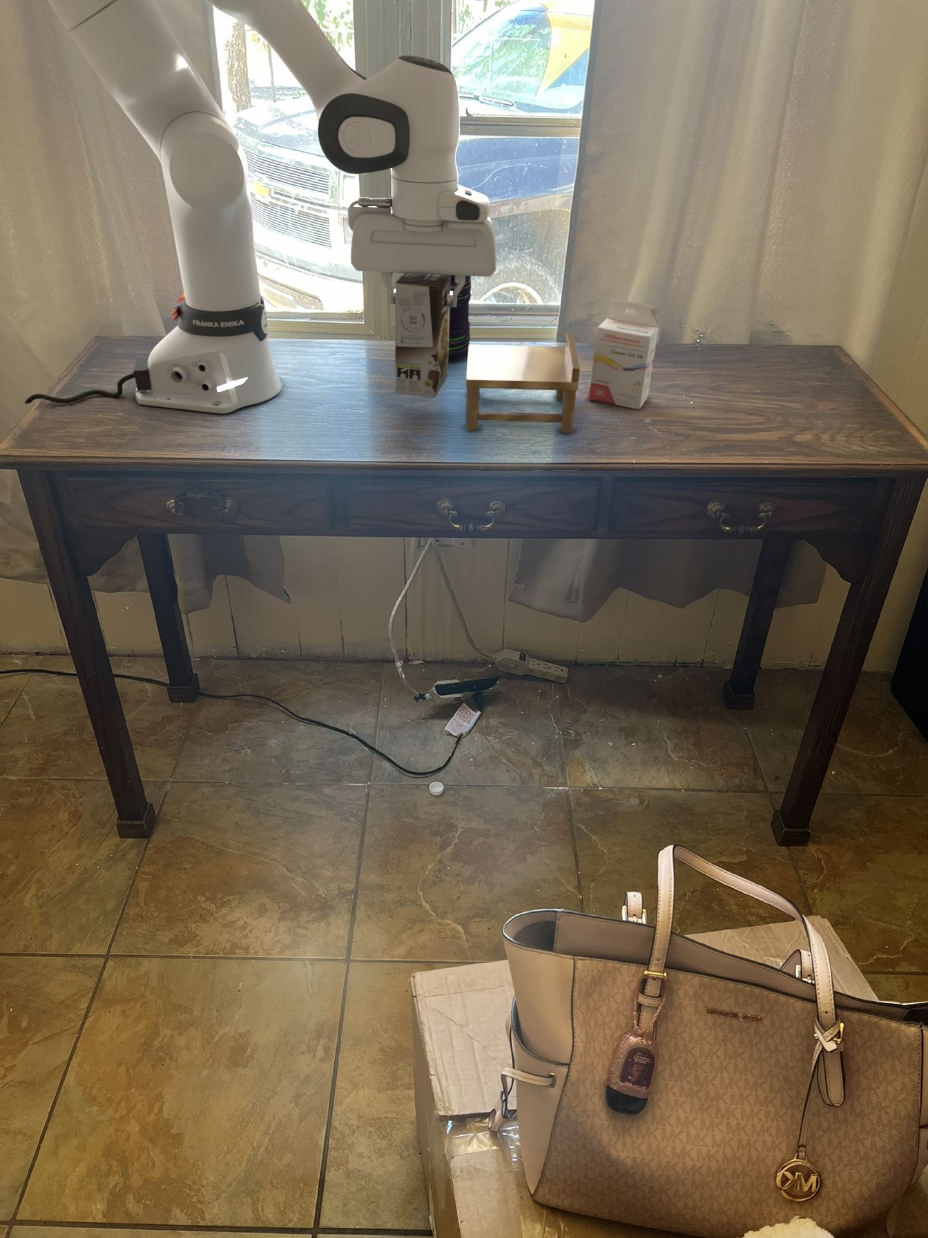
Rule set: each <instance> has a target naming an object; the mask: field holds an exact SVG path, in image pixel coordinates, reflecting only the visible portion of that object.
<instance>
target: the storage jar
mask: <svg viewBox="0 0 928 1238" xmlns="http://www.w3.org/2000/svg"><path fill="white" fill-rule="evenodd" d="M471 279H472V276H465V284H464V286H463V287H462V289H461V291H460V292H459V294H458V295H457V306H456V307H450V315H449V351H448V365H450V364H451V365H452V364H457V363H461V362H463V361H465V360H467V359H468V346H469V345H470V342H471V332H470V330H471V322H470V320H469V319H470V318H469V315H470V301H471V297H472V294H471V290H472V280H471ZM456 285H457V283H455V275H451V285H450V291H453V290H454V288H455V286H456Z"/></svg>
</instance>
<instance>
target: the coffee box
mask: <svg viewBox="0 0 928 1238" xmlns="http://www.w3.org/2000/svg"><path fill="white" fill-rule="evenodd" d="M450 285H451V275H437V274H415V273H402V275H401V276H400V277H399V278H398V279H397V281H395V289H396V293H395V304H394V305H395V306H394V308H395V311H394V313H395V314H394V315H395V316H394V318H395V319H394V321H395V322H394V323H395V324H394V326H395V327H394V338H395V339H394V346H395V347H394V348H395V349H394V351H395V354H394V364H395V365H394V386H395V387H394V393H395V394H400V395H408V396H415V397H422V398H429V399H435V398H436V397H437V395H438V394H439V392H440V390H441V388H442V387H443V385H444V383H445V382H446V380H447V378H448V375H449V374H448V373H449V364H448V351H449V315H450V307H446V302H447V300H446V298H447V291H450Z"/></svg>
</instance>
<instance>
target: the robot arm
mask: <svg viewBox="0 0 928 1238" xmlns="http://www.w3.org/2000/svg"><path fill="white" fill-rule="evenodd" d="M47 1H48V3H49V4H50V6H51V8H52V10H53V11H54V12H55V14H56V16H57V18H58V19H59V20H60V22H61V24H62V25H63V27H64V28H65V29H66V31H67V33H68V34H69V35H70V37H71V38H72V40H73V42H74V43H75V44H76V46H77V48H78V49H79V50H80V52H81V53H82V55H83V56H84V58H85V59H86V60H87V62H88V63H89V65H90V66H91V68H92V70H93V71H94V72H95V73H96V75H97V76H98V78H99V80H101V83H102V84H103V86H104V87H105V88H106V90H107V91H108V92H109V94H110V96H111V97H112V98H113V100H115V102H116V103H117V104H118V106H119V107H120V108H121V109H122V111H123V112H124V113H125V114H126V116H127V117H128V118H129V120H130V121H131V122H132V124H133V125H134V127H135V128H136V130H138V132H139V133H140V135H141V136H142V137H143V139H144V140H145V142H146V143H147V144H148V145H149V147H150V149H151V150H152V151H153V153H154V154H155V155H156V157H157V158H158V161H159V162H160V164H161V171H162V176H163V181H164V187H165V192H166V197H167V203H168V209H169V214H170V220H171V226H172V232H173V237H174V243H175V249H176V255H177V261H178V266H179V272H180V277H181V283H182V288H183V293H182V295H181V296H179V298H178V299H177V303H176V305H174V307H173V309H174V310H173V311H172V312H171V315H172V321H174V322H175V321H176V323H177V325H176V326H175V327H174V328H173V329H172V330H171V331H170V332H168V333H167V334H166V336H165V337H163V338H162V339H161V340H159V342H158V343H157V344H156V345H155V346H154V347H153V348H152V350H151V351H150V354H149V356H148V357H147V358H138V359H135V361H134V368H133V372H132V373H130V374H127V375H125V376H122V377H121V378H120V379H119V380H118V382H117V384H116V389H117V391H116V392H110V391H106V390H103V389H90V390H86V391H84V392H82V393H79V394H77V395H74V396H71V397H65V398H64V397H55V396H51V395H47V394H43V393H35V394H32V395H30V396H29V397H27V398H26V400H25V401H24V404H26V405H28V404H29V405H30V404H31V403H33V402H34V401H35V400H45V401H49V402H52V403H56V404H70V403H75V402H78V401H80V400H82V399H84V398H87V397H91V396H94V395H100V396H105V397H108V398H115V399H116V398H119V397H121V396H122V395H123V391H124V389H123V384H124V383H126V382H128V381H131V380H132V379H134V380H135V384H136V388H135V393H134V394H135V400H136V402H137V403H138V404H139V405H143V406H152V407H160V408H168V409H176V410H186V411H194V412H195V411H196V412H202V413H203V412H204V413H212V414H213V413H214V414H221V415H222V414H223V415H225V414H228V413H232V412H234V411H236V410H239V409H240V408H241V409H242V408H244V407H248V406H252V405H256V404H261V403H263V402H266V401H268V400H270V399H272V398H273V397H276V395H278V394H279V393H280V392H281V390H282V388H283V383H282V381H281V379H280V376H279V374H278V372H277V369H276V365H275V364H274V363H275V362H274V360H273V357H272V352H271V349H270V345H269V340H268V333H269V324H268V316H267V309H266V307H265V306H266V305H265V301H264V300H265V299H264V297H263V295H261V289H260V284H259V283H260V282H259V272H258V266H257V258H256V257H257V256H256V249H255V239H254V238H255V235H254V224H253V223H254V221H253V210H252V198H251V197H252V196H251V186H250V175H249V166H248V160H247V155H246V152H245V150H244V148H243V146H242V144H241V142H240V141H239V138H238V137H237V135H236V133H235V131H234V129H233V128H232V126H231V125H230V123H229V121H228V120H227V118H226V116H225V115H224V113H223V112H222V110H221V108H220V106H219V105H218V103H217V102H216V100H215V98H214V97H213V95H212V93H211V92H210V90H209V89H208V87H207V85H206V84H205V83H204V81H203V79H202V78H201V76H200V74H199V73H198V71H197V69H196V67H195V66H194V65H193V62H192V61H191V59H190V58H189V57H188V55H187V53H186V52H185V50H184V48H183V46H182V45H181V43H180V42H179V40H178V38H177V36H176V35H175V34H174V32H173V29H172V28H171V27H170V26H169V24H168V22H167V20H166V18H165V17H164V15H163V14H162V11H160V9H159V7H158V6H157V4H156V2H155V1H154V0H47ZM207 1H209V3H210V4H211V5H212V6H213V7H215V8H216V9H217V10H218V11H220V12H222V13H224V14H226V15H227V16H230V17H232V18H233V19H236V20H237V21H239V22H241V23H243V24H244V25H246V26H248V27H249V28H251V29H252V30H253V31H254V32H256V33H257V34H258V35H259V36H260V37H262V38H263V39H264V41H266V42H267V44H268V45H269V46H270V47H271V48H272V49H273V50H274V52H275V54H276V55H278V57H279V59H280V60H281V61H282V62H283V64H284V65H285V66H286V68H287V69H288V70H289V72H290V73H291V74H292V76H293V77H294V78H295V80H296V81H297V82H298V83H299V85H300V86H301V88H302V89H303V90H304V91H305V93H306V94H307V96H308V97H309V99H310V101H311V103H312V105H313V108H314V111H315V113H316V116H317V120H318V123H317V138H318V142H319V146H320V149H321V150H322V153H323V154H324V156H325V158H326V159H327V161H329V163H330V164H331V165H332V166H334V167H335V168H336V169H337V170H339V171H341V172H344V173H347V174H351V175H365V174H366V175H367V174H371V173H375V172H376V173H377V172H381V171H386V170H390V175H391V177H390V178H391V179H390V180H391V198H390V197H386V198H385V197H376V198H370V197H365V196H364V197H363V196H362V197H358V200H354V201H352V202H351V203H350V204H349V206H348V208H347V224H348V228H349V229H350V231H352V234H351V243H350V264H351V265H352V267H353V268H354V270H356V271H357V272H370V273H371V272H372V273H373V272H374V273H380V277H381V282H382V283H383V285H384V287H385V289H386V290H387V293H389V305H395V293H396V286H395V285H394V284H393V282H392V278H393V273H394V274H395V273H396V274H404V273H415V274H437V275H455V283H457V285H456V286H455V288H454V290H453V291H447V298H446V300H447V302H446V307H456V306H457V295H458V294H459V292H460V291H461V289H462V287H463V286H464V284H465V276H471V277H483V278H485V277H486V278H489V277H492V276H493V275H494V273H495V272H496V270H497V244H496V234H495V228H494V224H493V221H492V220H491V218H490V217H489V216H490V211H491V203H490V200H489V198H488V196H487V195H485V194H483V193H480V192H477V191H475V190H472V189H470V188H467V187H465V186H462V185H460V184H459V170H458V167H457V159H456V158H457V151H458V146H459V143H460V131H461V130H460V128H461V125H460V120H461V119H460V95H459V94H460V93H459V86H458V82H457V79H456V77H455V75H454V74H453V72H452V71H451V70H450V69H449V67H447V66H445V65H444V64H443V63H441V62H437V61H435V60H432V59H428V58H425V57H421V56H414V55H413V56H412V55H409V54H408V55H400V56H398V57H396V59H395V60H394V61H393V62H392V63H390V64H389V65H388V66H387V67H385V68H384V69H382V70H381V71H379V72H377V73H375V74H374V75H371V76H370V77H366V76H364V75H362V74H361V73H359V72H358V71H356V70H355V69H353V68H352V67H351V66H350V65H349V64H348V63H347V62H346V61H345V60H344V59H343V57H342V56H341V55H340V53H339V52H338V51H337V49H336V48H335V46H334V45H333V44H332V43H331V41H330V40H329V38H328V36H326V34H325V33H324V31H323V29H322V28H321V27H320V25H319V24H318V22H317V21H316V20H315V19H314V17H313V16H312V14H311V13H310V11H309V10H308V9H307V7H306V6H305V4H304V3H303V1H302V0H207ZM43 398H44V399H43Z"/></svg>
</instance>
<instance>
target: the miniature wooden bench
mask: <svg viewBox="0 0 928 1238" xmlns="http://www.w3.org/2000/svg"><path fill="white" fill-rule="evenodd" d="M579 363H580V362H579V358H578V354H577V347H576V343H575V338H574V334H573V333H566V336H565V346H551V345H550V346H549V345H548V346H546V345H544V346H543V345H510V344H509V345H505V344H469V346H468V358H467V359H466V374H465V375H466V376H465V388H466V403H465V404H466V408H465V410H466V411H465V412H466V413H465V420H466V421H465V429H466V430H467V431H469V432H476V431H478V430H479V422H510V423H511V422H514V423H518V422H519V423H549V424H550V423H555V424H556V423H557V424H559V423H560V427H559V428H560V429H559V430H560V433H562V434H571V433H573V428H574V417H575V409H576V399H577V391H579V382H580V381H579V380H580V370H581V368H580V364H579ZM481 389H490V390H491V389H492V390H493V389H495V390H532V391H556V392H555V399H556V400H558V401H562V406H561V413H537V412H536V413H534V412H504V411H503V412H499V411H497V412H495V411H480V410H479V409H480V407H479V405H480V395H481V394H480V392H481V391H480V390H481Z"/></svg>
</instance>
